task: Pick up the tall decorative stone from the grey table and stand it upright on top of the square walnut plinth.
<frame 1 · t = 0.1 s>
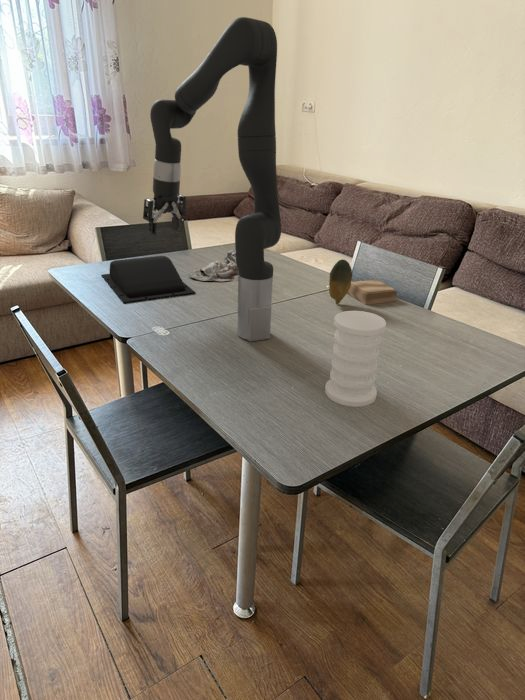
hand: (163, 232, 153), 22 cm above the table, tool pointing down, fingers open, 8 cm apart
decorative container: (350, 393, 116), on the table
wall ornament: (226, 275, 193), on the table
black rounded block: (146, 286, 178), on the table
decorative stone: (336, 304, 168), on the table
plinth: (370, 296, 176), on the table
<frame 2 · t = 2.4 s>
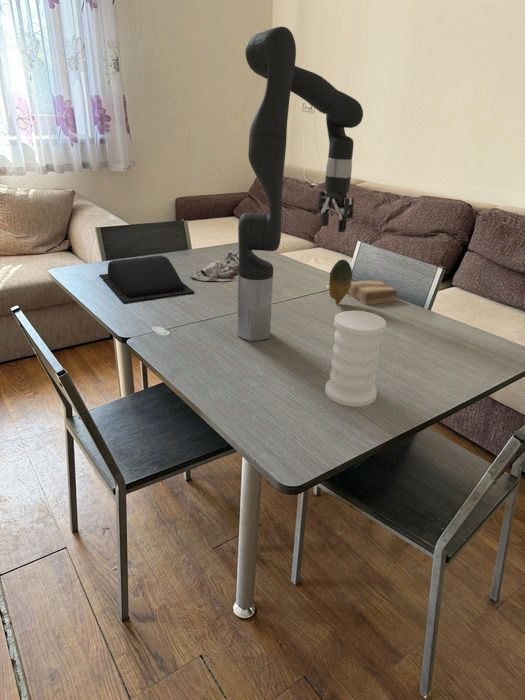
hand: (332, 228, 160), 24 cm above the table, tool pointing down, fingers open, 8 cm apart
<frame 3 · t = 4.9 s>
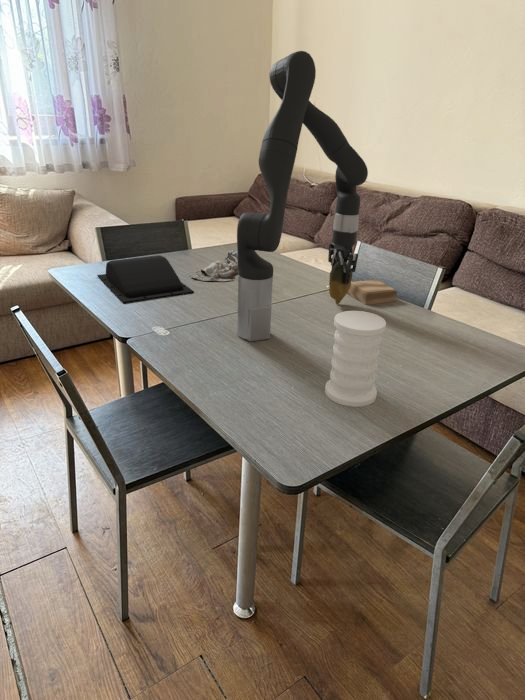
hand: (339, 280, 164), 8 cm above the table, tool pointing down, fingers closed on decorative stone, 6 cm apart
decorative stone: (336, 304, 168), on the table, touching gripper
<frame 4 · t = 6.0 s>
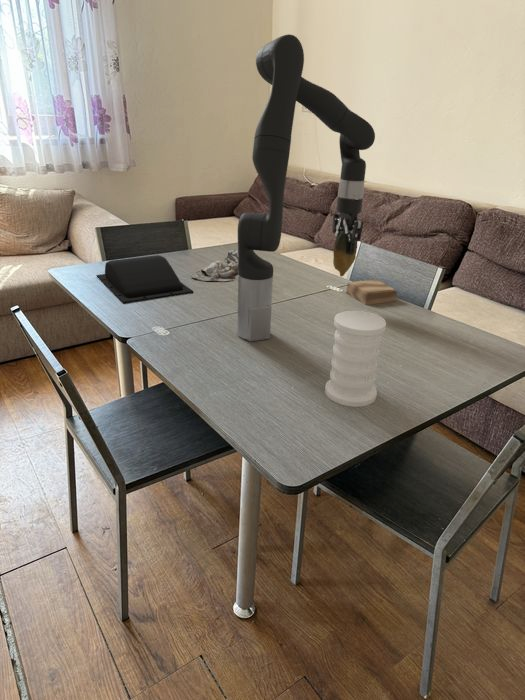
hand: (344, 250, 159), 18 cm above the table, tool pointing down, fingers closed on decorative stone, 6 cm apart
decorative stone: (341, 277, 163), point 9 cm above the table, touching gripper
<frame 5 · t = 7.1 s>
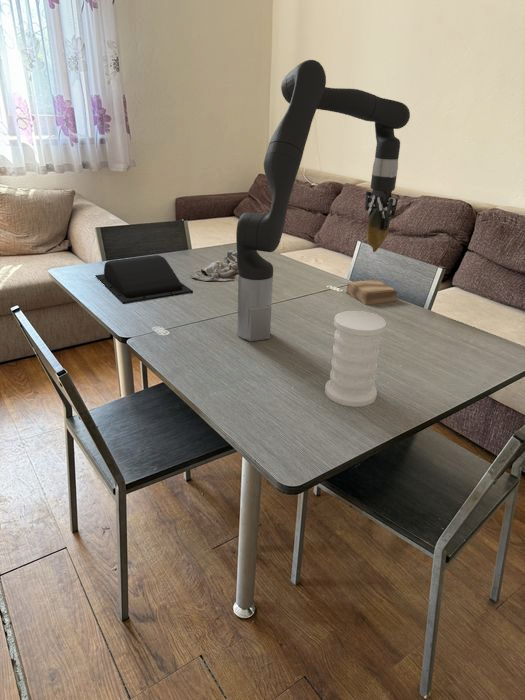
hand: (377, 227, 166), 24 cm above the table, tool pointing down, fingers closed on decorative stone, 6 cm apart
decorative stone: (374, 252, 169), point 15 cm above the table, touching gripper
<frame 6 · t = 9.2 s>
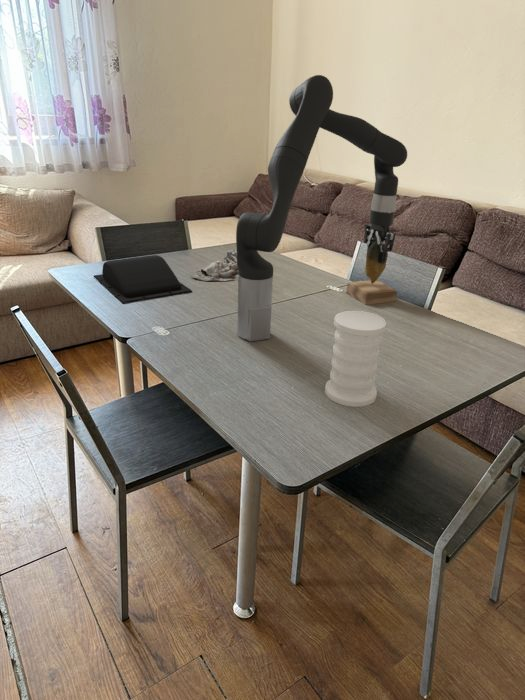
hand: (375, 260, 170), 13 cm above the table, tool pointing down, fingers closed on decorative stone, 6 cm apart
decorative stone: (372, 284, 173), point 5 cm above the table, touching gripper
when the fingers open (13 cm above the table, at t = 9.5 s): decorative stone stays where it is, resting on plinth.
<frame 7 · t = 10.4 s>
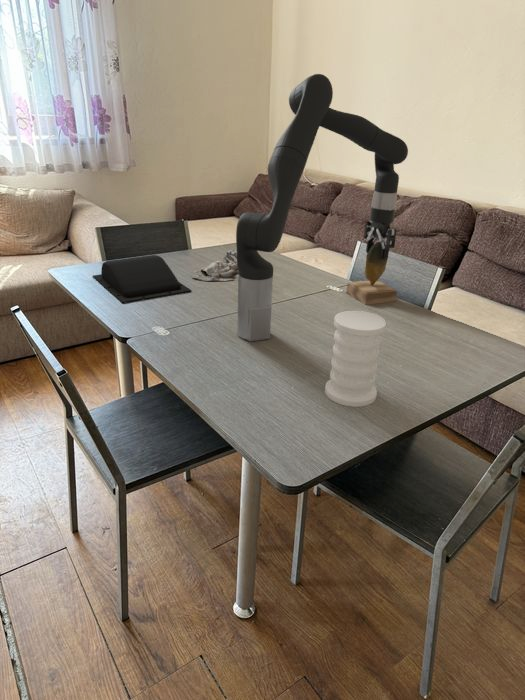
hand: (376, 256, 169), 14 cm above the table, tool pointing down, fingers open, 8 cm apart
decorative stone: (371, 286, 174), point 4 cm above the table, touching plinth
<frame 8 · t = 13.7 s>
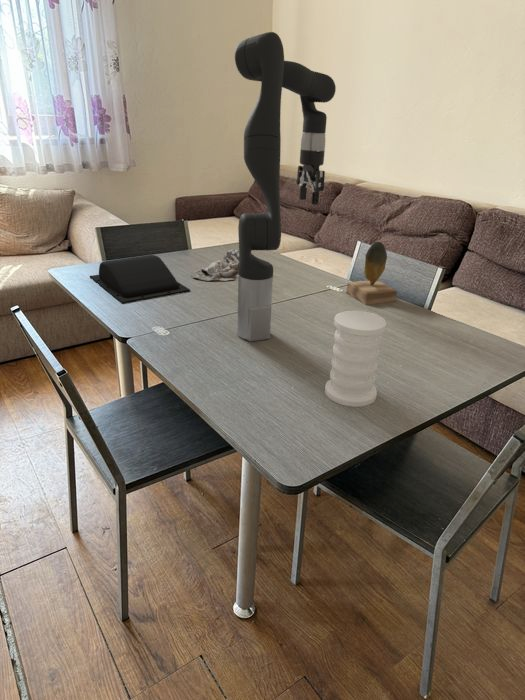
hand: (308, 201, 166), 30 cm above the table, tool pointing down, fingers open, 8 cm apart
at the end: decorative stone inside the target area on the plinth (0.2 cm from its centre), point 3.8 cm above the plinth's base; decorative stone tilted 1°; the gripper is holding nothing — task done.
